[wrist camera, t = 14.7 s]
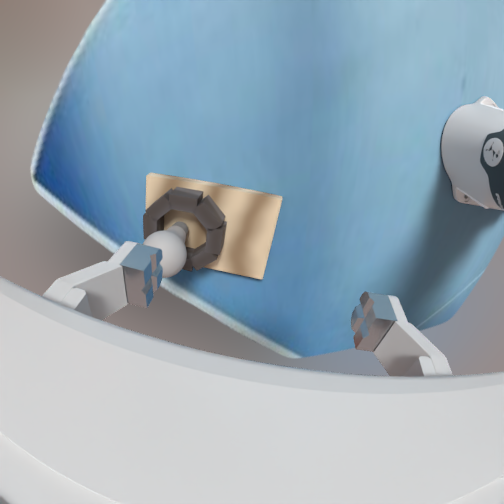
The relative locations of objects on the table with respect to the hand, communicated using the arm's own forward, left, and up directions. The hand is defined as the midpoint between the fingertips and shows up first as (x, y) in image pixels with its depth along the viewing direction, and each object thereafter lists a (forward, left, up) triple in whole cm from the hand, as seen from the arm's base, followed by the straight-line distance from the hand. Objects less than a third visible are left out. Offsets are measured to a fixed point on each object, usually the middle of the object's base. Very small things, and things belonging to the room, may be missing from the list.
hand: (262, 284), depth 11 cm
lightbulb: (+12, +14, -28) cm, 33 cm away
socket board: (+8, +14, -29) cm, 33 cm away
